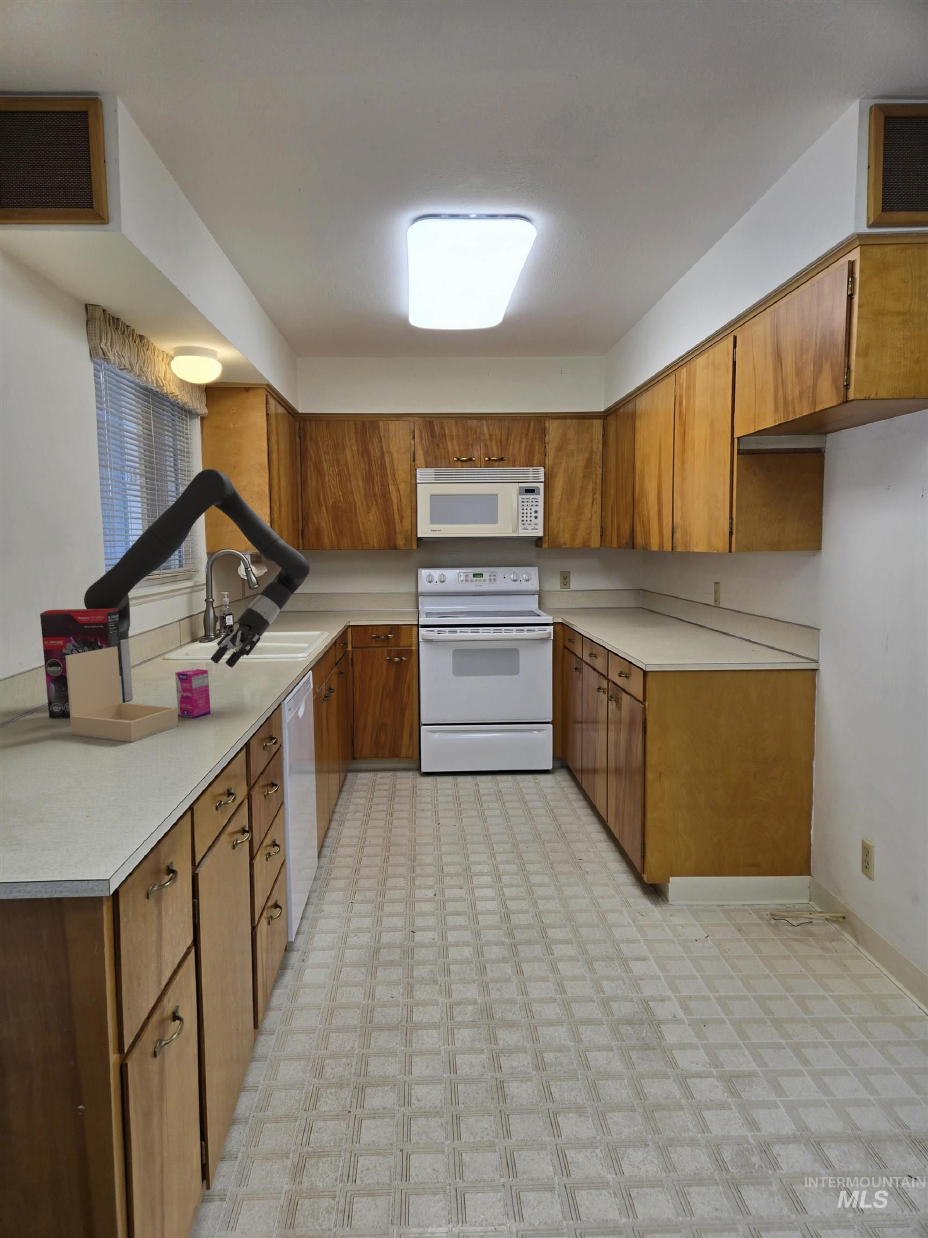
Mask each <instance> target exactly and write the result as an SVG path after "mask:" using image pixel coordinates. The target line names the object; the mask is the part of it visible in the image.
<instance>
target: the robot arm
mask: <svg viewBox="0 0 928 1238" xmlns="http://www.w3.org/2000/svg"><path fill="white" fill-rule="evenodd" d="M213 506H214V507H215V508H217V509H218V510H219V511H221V512H222V513H224V515H226V516H227V517H228V518H229V519H230V520H231V521H232V522H233V523H234V524H235V526H236V527H237V528H238V529H239V530H240V531H241V533H242V535H243V536H244V537H245V538H246V540H247V541H248V542H249V543H250V544H251V545H252V546H253V547H254V548H255V550H256V551H258V553H259V554H260V555H261V556H262V557H263V558H265V560H267V561H269V562H274V563H275V564H276V565H277V566H278V567H279V568H280V571H279V572H278V573H277V574H276V576H275V577H274V578H273V580H272V581H271V582H269V583H268V584H266V586H265V587H264V588H263V590H261V592H260V593H259V594H258V596H256V598H254V599H253V600H252V601H251V603H249V605H248V606H247V607H246V608H245V610H244V611H243V612H242V614H241V615H240V616H239V617H238V618H237V621H236V622H237V624H238V627H237V628H236V629H233V627H229V628H228V630H227V631H226V632H225V634H224V635H222V637H221V638H220V639H219V640H218V642H216V645H217V647H218V648H217V650H216V651H215V652H214V653H213V654H212V656H211V657H210V661H212V662H213V663H214V664H219V662H221V660H222V659H223V658H224V656H225V655H226V653H228V652H229V651H230V650H234V651H233V652H232V653H231V654H230V656H228V658H227V660H225V665H227V666H228V667H229V668H234V667H235V665H236V664H237V663H238V662H239V660H241V658H243V657H245V656H246V657H247V656H248V657H249V655H250V654H251V653H252V651H254V648H255V647H256V646H257V644H258V643H259V642H260V640H261V637H262V636H263V635H264V633H265V632H266V631H267V630H268V629H269V627H270V626H271V625H272V623H273V622H274V621H275V620H276V618H277V617H278V614H279V613H280V611H282V609H283V608H284V607H285V605H286V604H287V603H288V601H289V600H290V598H291V596H293V594H294V593H295V592H297V590H298V589H299V588H300V587H301V586H302V584H304V582H305V580H306V579H307V578H308V576H309V574H310V569H311V567H310V563H309V562H308V560H307V559H306V558H305V556H304V555H303V554H302V553H300V552H299V551H298V550H297V549H295V548H293V547H292V546H291V545H289V544H287V543H286V542H285V540H284V539H282V538H281V536H279V534H277V533H276V531H275V530H274V529H273V528H272V527H271V526H270V525H268V523H266V521H265V520H264V519H263V518H261V517H260V516H259V514H257V513H256V512H255V511H254V510H253V509H252V508H251V507H250V505H249V504H248V503H247V502H246V500H245V499H244V498H243V496H242V495H241V494H240V493H239V491H238V490H237V488H236V486H235V485H234V484H233V483H232V480H231V479H230V478H229V476H227V475H226V474H225V473H223V472H222V471H219V470H217V469H214V468H206V469H204V470H201V471H200V472H198V473H197V474H195V476H194V477H193V479H191V481H190V483H189V484H188V485H187V486H186V487H185V489H184V491H183V492H182V493H181V494H180V496H179V497H178V498H177V499H176V500H175V502H173V503H172V505H171V506H169V507H168V508H167V509H165V511H164V512H163V513H162V514H161V515H160V516H159V517H158V518H157V519H156V520H155V521H154V522H152V524H151V525H150V526H149V527H148V528H146V530H145V531H143V533H141V534H140V536H139V537H138V538H137V540H135V542H134V543H132V545H131V546H130V547H129V548H128V550H127V551H126V552H125V553H124V554H123V555H122V556H121V558H120V559H119V560H118V562H116V564H115V565H114V566H112V567H111V569H109V570H108V571H107V572H106V573H105V574H104V575H102V576H101V577H100V578H98V579H97V580H96V581H95V582H93V583H92V584H91V585H89V587H88V588H87V590H86V591H85V593H84V596H83V605H84V607H85V609H115V608H118V610H119V627H120V641H121V655H122V667H123V678H124V691H125V703H127V702H129V701H131V700H133V698H134V696H133V695H134V693H133V692H134V691H133V681H132V680H133V679H132V666H131V654H130V653H131V652H130V650H131V649H130V639H129V637H130V636H129V635H130V634H129V632H130V627H131V608H130V607H131V606H130V596H129V594H130V592H131V591H132V590H133V588H134V587H135V586H137V584H138V583H140V582H141V581H142V580H143V579H145V578H146V577H147V576H149V575H151V574H152V573H153V572H156V570H157V569H159V568H160V567H161V566H162V565H164V564H165V563H166V562H167V561H168V560H169V559H170V558H171V557H172V556H173V555H174V554H175V553H176V552H177V551H178V550H179V549H180V547H182V545H183V543H184V542H185V540H186V539H187V538H188V535H189V534H190V531H191V529H192V528H193V526H195V525H194V524H195V523H196V522H197V520H198V519H199V518H200V517H201V516H202V515H204V513H205V512H207V511H208V510H209V509H210V508H211V507H213Z"/></svg>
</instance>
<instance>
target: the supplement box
mask: <svg viewBox="0 0 928 1238" xmlns="http://www.w3.org/2000/svg"><path fill="white" fill-rule="evenodd" d="M174 673H175V674H174V675H175V687H176V690H175V691H176V702H177V703H176V704H177V712H178V717H183V718H185V717H186V718H189V719H190V718H191V719H197V718H200V717H204V716H207V715H211V713H212V712H211V711H212V710H211V701H210V700H211V697H210V685H209V684H210V683H209V670H208V669H200V668H188V669H184V670H180V671H176V672H174Z"/></svg>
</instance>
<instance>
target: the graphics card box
mask: <svg viewBox="0 0 928 1238" xmlns="http://www.w3.org/2000/svg"><path fill="white" fill-rule="evenodd" d="M39 616H40V618H39V619H40V625H41V626H40V627H41V639H42V650H43V661H44V671H45V673H44V675H45V684H46V685H45V686H46V695H47V708H48V718H49V719H70V708H69V695H68V683H67V670H66V657H65V656H67V655H73V654H78V653H83V652H89V651H94V650H100V649H105V648H111V647H117V648H118V662H119V677H120V691H121V703H126V702H125V691H124V678H123V667H122V655H121V641H120V627H119V610H118V608H115V609H86V608H76V609H73V608H72V609H71V608H70V609H68V608H67V609H66V608H65V609H63V608H62V609H49V610H45V611H42V612H41V613H40V614H39Z"/></svg>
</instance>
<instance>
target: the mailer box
mask: <svg viewBox="0 0 928 1238" xmlns="http://www.w3.org/2000/svg"><path fill="white" fill-rule="evenodd" d="M65 657H66V670H67V683H68V695H69V708H70V718H69V719H70V730H71V736H74V737H82V738H83V737H84V738H91V739H100V740H109V741H117V742H124V741H126V743H134V742H133V741H135V742H137V741H136V740H138V741H140V740H143V739H146V738H149V737H151V736H155V735H157V734H160V733H163V732H165V731H168V730H172V729H174V728H177V727H179V716H178V707H172V706H161V705H151V704H138V703H129V702H125V703H121V691H120V677H119V662H118V648H117V647H111V648H105V649H100V650H94V651H89V652H83V653H78V654H73V655H67V656H65ZM142 738H143V739H142ZM139 739H140V740H139Z"/></svg>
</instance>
